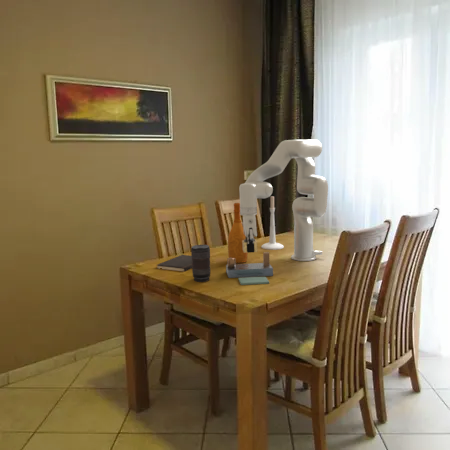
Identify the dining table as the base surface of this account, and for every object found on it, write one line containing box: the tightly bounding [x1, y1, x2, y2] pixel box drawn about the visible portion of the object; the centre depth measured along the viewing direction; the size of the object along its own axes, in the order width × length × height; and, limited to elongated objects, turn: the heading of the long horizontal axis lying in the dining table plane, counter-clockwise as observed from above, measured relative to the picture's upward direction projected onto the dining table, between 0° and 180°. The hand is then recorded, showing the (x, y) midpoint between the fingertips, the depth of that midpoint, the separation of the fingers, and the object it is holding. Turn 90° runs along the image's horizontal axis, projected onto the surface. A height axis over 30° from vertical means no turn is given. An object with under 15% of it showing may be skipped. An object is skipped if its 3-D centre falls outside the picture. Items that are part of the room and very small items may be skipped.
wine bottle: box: [227, 202, 248, 264], centre depth 223 cm, size 10×10×30 cm
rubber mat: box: [237, 276, 270, 286], centre depth 190 cm, size 12×8×1 cm, turn 96°
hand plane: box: [225, 251, 274, 279], centre depth 202 cm, size 20×10×10 cm, turn 96°
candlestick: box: [261, 195, 284, 251], centre depth 255 cm, size 13×13×30 cm
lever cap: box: [242, 238, 258, 253], centre depth 201 cm, size 6×5×5 cm
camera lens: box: [190, 244, 211, 283], centre depth 193 cm, size 8×8×15 cm
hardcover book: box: [155, 254, 192, 272], centre depth 222 cm, size 16×23×2 cm
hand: (249, 250), depth 201 cm, fingers closed on lever cap, 5 cm apart
